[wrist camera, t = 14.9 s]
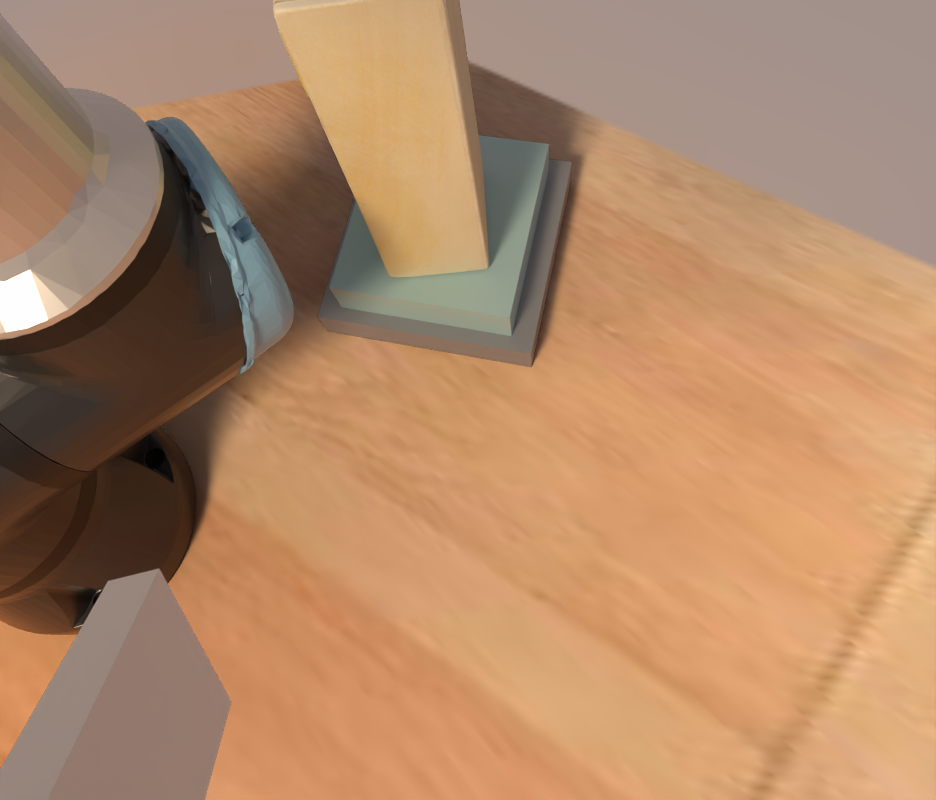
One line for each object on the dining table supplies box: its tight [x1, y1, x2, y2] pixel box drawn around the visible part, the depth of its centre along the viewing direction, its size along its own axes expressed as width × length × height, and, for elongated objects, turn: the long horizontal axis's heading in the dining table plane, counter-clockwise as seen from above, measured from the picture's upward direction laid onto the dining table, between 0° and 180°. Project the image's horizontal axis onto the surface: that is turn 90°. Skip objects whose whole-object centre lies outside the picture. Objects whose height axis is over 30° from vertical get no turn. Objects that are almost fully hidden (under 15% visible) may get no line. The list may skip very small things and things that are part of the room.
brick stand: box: [317, 135, 572, 367], centre depth 50 cm, size 15×15×6 cm
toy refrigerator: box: [273, 0, 489, 278], centre depth 37 cm, size 8×7×21 cm
